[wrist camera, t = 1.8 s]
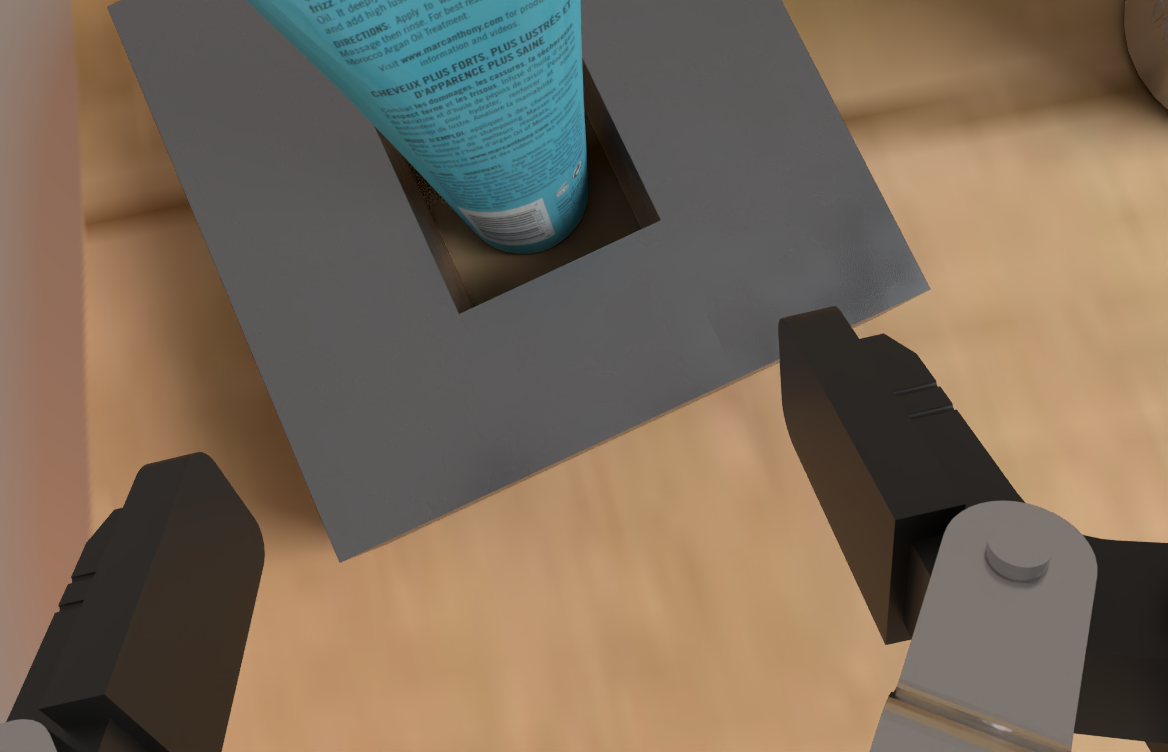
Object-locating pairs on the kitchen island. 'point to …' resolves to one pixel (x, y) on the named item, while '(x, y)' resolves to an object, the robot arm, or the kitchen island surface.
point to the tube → (465, 100)
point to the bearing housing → (541, 306)
